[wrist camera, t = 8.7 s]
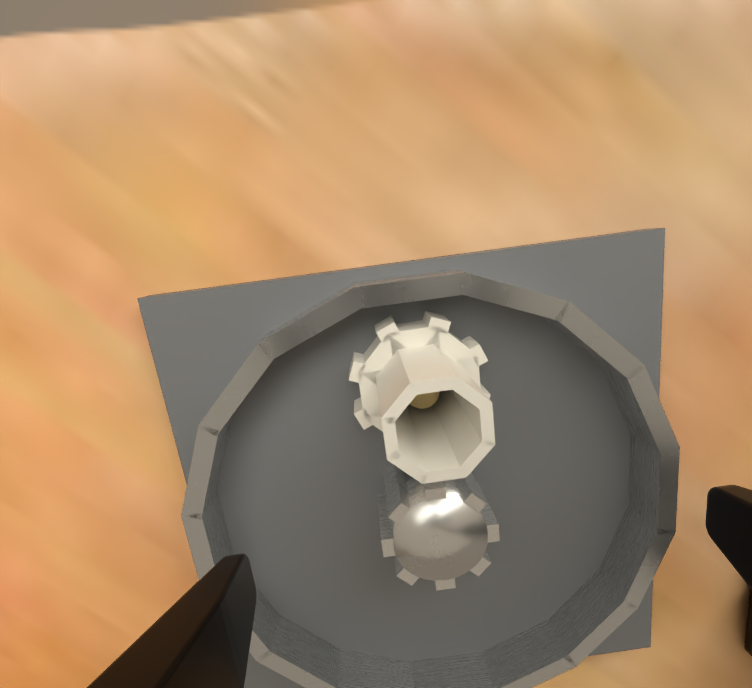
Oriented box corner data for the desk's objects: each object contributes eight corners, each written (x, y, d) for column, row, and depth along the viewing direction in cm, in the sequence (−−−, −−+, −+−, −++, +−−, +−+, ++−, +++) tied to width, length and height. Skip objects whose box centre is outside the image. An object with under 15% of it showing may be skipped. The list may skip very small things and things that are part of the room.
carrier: (648, 228, 18) (708, 226, 15) (638, 630, 23) (681, 689, 20) (149, 295, 18) (105, 306, 15) (250, 685, 23) (233, 753, 20)
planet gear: (474, 303, 18) (524, 330, 12) (483, 425, 19) (532, 498, 14) (341, 322, 18) (334, 357, 12) (360, 443, 19) (361, 522, 14)
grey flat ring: (652, 242, 17) (689, 242, 15) (641, 640, 22) (668, 678, 20) (152, 309, 17) (126, 317, 15) (253, 695, 22) (242, 739, 20)
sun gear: (474, 443, 19) (495, 480, 16) (481, 532, 20) (502, 581, 17) (372, 458, 19) (374, 497, 16) (384, 546, 20) (389, 597, 17)
